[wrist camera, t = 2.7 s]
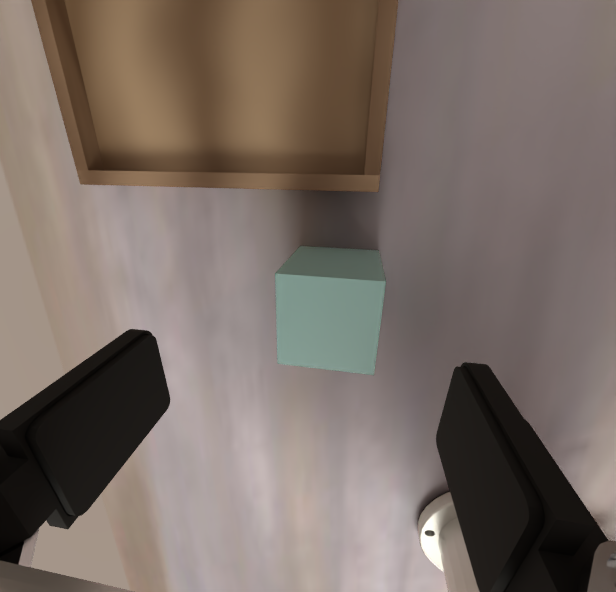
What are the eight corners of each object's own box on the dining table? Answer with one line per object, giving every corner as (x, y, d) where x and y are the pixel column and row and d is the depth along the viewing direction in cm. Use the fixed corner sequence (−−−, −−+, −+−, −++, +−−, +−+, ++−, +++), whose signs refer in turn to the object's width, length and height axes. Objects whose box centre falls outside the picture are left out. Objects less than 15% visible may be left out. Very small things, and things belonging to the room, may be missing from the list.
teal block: (378, 250, 18) (385, 281, 12) (370, 321, 20) (373, 375, 14) (300, 245, 19) (275, 273, 13) (299, 314, 21) (277, 363, 15)
